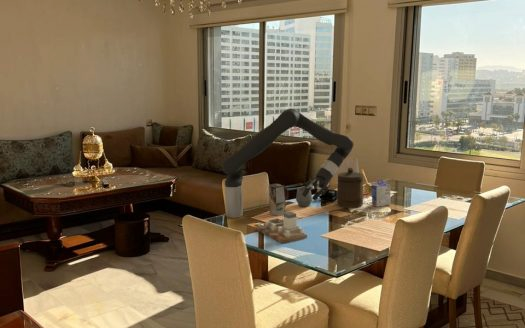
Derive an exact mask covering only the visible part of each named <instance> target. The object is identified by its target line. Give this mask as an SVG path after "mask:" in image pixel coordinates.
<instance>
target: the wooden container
mask: <svg viewBox="0 0 525 328" xmlns="http://www.w3.org/2000/svg"><path fill="white" fill-rule="evenodd" d="M354 170H355V169H354V168H353V167H349V168H348V167H347V171H343V172H340V173H337V189H336V190H337V200H336V203H337V206H338V207H341V208H345V209H354V208H355V209H356V208H360V207H363V206H364V205H363V204H364V173H361V172H357V171H354Z"/></svg>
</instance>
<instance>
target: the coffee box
mask: <svg viewBox="0 0 525 328" xmlns="http://www.w3.org/2000/svg"><path fill="white" fill-rule="evenodd" d="M286 196H287V195H286V186H285V185H282V184H280V183H272V184H268V207H269V209H268V210H269V212H268V213H269V214H270V213H271V214H272V215H274V216H277V217H278V216H279V217H280V216H284V215H283V213H287V204H286V203H287V200H286Z"/></svg>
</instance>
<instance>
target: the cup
mask: <svg viewBox="0 0 525 328" xmlns="http://www.w3.org/2000/svg"><path fill="white" fill-rule="evenodd" d="M305 189H306V188H305V187H298V188H297V189H296V195H295V196H296V197H295V201H296V202H297V205H298V206H299V207H302V208H303V207H305V208H306V207H308V206H310V205H311V203H312V201H313V199H312V197H313V195H312V191H311V190H310V191H309V193H308V194H307V195H306V197H304V196H303V195H302V193H303V192H304V190H305Z"/></svg>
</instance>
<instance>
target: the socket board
mask: <svg viewBox="0 0 525 328" xmlns="http://www.w3.org/2000/svg"><path fill="white" fill-rule="evenodd" d="M264 223H265V224H264V225H261V226H256V228H255V230H256V231H258V232H260V233H261V234H263V235H265V236H267V237H269V238H271V239H273V240H275V241H276V242H278V243H280V244H286V243H291V242H296V241H299V240H303V239H307V238H308V235H307V234H306V233H304V232H303V227H301V226H299V225H296V229H293V230H286V229H284V218H281V217H277V218H272V219H267V220H265V221H264Z"/></svg>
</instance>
